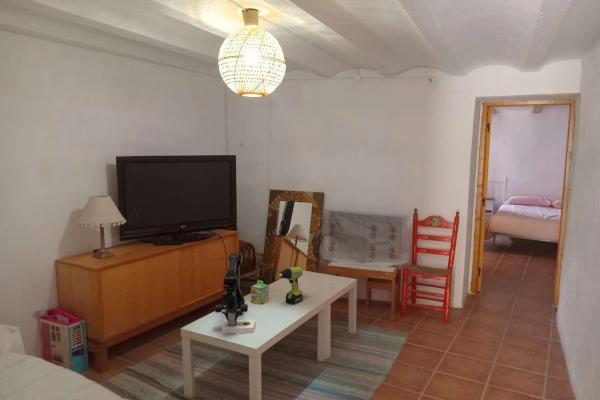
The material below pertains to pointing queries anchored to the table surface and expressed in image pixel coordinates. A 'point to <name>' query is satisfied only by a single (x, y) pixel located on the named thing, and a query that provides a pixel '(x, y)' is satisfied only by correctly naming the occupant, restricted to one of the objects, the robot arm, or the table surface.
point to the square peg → (231, 319)
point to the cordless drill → (293, 284)
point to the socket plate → (239, 327)
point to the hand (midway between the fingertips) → (232, 322)
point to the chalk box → (259, 293)
